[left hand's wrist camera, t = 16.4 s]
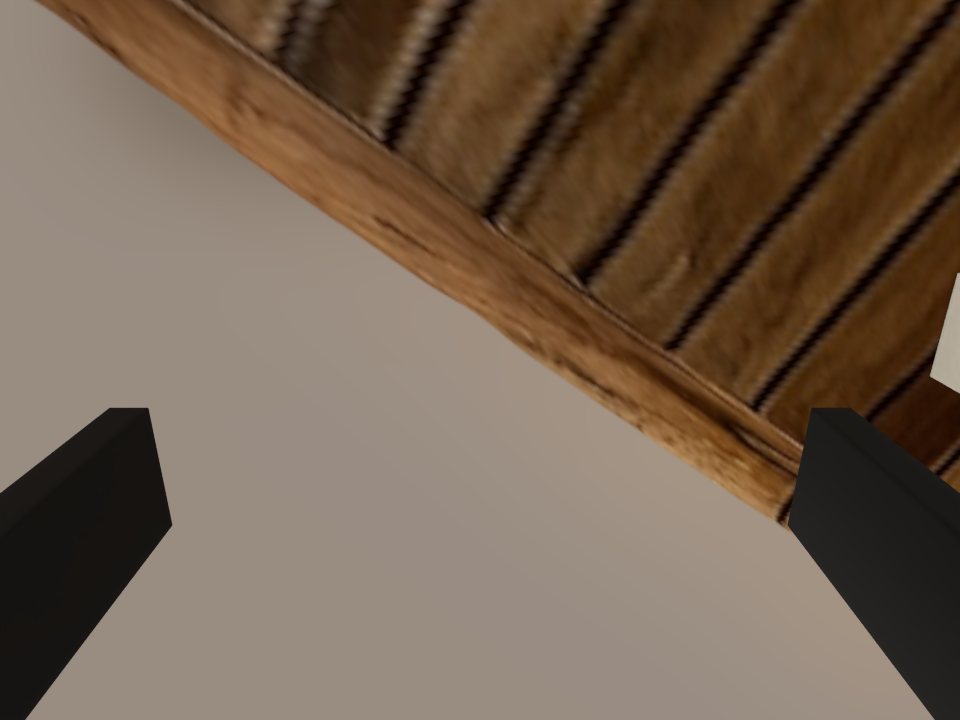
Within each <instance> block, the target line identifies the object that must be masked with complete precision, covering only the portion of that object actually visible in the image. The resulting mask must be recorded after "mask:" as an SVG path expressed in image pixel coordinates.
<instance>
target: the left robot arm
mask: <svg viewBox="0 0 960 720" xmlns="http://www.w3.org/2000/svg"><path fill="white" fill-rule="evenodd" d="M171 526H172V521H171V516H170V511H169V506H168V502H167V497H166V492H165V487H164V482H163V477H162V472H161V468H160V462H159V458H158V453H157V448H156V443H155V438H154V433H153V428H152V423H151V419H150V414H149V409H148V408H109V409H108V410H106V411H105V412H104V413H103V414H101V415H100V416H99V417H97V418H96V419H95V420H93V421H92V422H91V423H90V424H88V425H87V426H86V427H85V428H83V429H82V430H81V431H79V432H78V433H77V434H76V435H74V436H73V437H72V438H70V439H69V440H68V441H67V442H65V443H64V444H63V445H61V446H60V447H59V448H58V449H56V450H55V451H54V452H52V453H51V454H50V455H49V456H47V457H46V458H45V459H44V460H42V461H41V462H40V463H38V464H37V465H36V466H35V467H33V468H32V469H31V470H29V471H28V472H27V473H26V474H24V475H23V476H22V477H20V478H19V479H18V480H17V481H15V482H14V483H13V484H12V485H10V486H9V487H8V488H6V489H5V490H4V491H3V492H1V493H0V720H25V719H26V718H27V717H28V715H29V714H30V713H31V711H32V710H33V709H34V707H35V706H36V705H37V703H38V702H39V701H40V700H41V698H42V697H43V695H44V694H45V693H46V692H47V690H48V689H49V688H50V686H51V685H52V684H53V682H54V681H55V680H56V678H57V677H58V676H59V674H60V673H61V672H62V670H63V669H64V668H65V666H66V665H67V664H68V662H69V661H70V660H71V659H72V657H73V656H74V655H75V653H76V652H77V651H78V649H79V648H80V647H81V645H82V644H83V643H84V641H85V640H86V639H87V637H88V636H89V635H90V633H91V632H92V631H93V629H94V628H95V627H96V625H97V624H98V623H99V622H100V620H101V619H102V618H103V616H104V615H105V614H106V612H107V611H108V610H109V608H110V607H111V606H112V604H113V603H114V602H115V600H116V599H117V598H118V596H119V595H120V594H121V592H122V591H123V590H124V588H125V587H126V586H127V585H128V583H129V582H130V580H131V579H132V578H133V577H134V575H135V574H136V573H137V571H138V570H139V569H140V567H141V566H142V565H143V563H144V562H145V561H146V559H147V558H148V557H149V555H150V554H151V553H152V551H153V550H154V549H155V547H156V546H157V545H158V544H159V542H160V541H161V539H162V538H163V537H164V536H165V534H166V533H167V532H168V530H169V529H170V528H171ZM788 526H789V528H790V529H791V530H792V532H793V533H794V534H795V536H796V537H797V538H798V540H799V541H800V542H801V544H802V545H803V546H804V547H805V549H806V550H807V551H808V553H809V554H810V555H811V557H812V558H813V559H814V561H815V562H816V563H817V565H818V566H819V567H820V569H821V570H822V571H823V573H824V574H825V575H826V577H827V578H828V579H829V581H830V582H831V583H832V584H833V586H834V587H835V588H836V590H837V591H838V592H839V594H840V595H841V596H842V598H843V599H844V600H845V602H846V603H847V604H848V606H849V607H850V608H851V610H852V611H853V612H854V614H855V615H856V616H857V618H858V619H859V620H860V622H861V623H862V624H863V625H864V627H865V628H866V629H867V631H868V632H869V633H870V635H871V636H872V637H873V639H874V640H875V641H876V643H877V644H878V645H879V647H880V648H881V649H882V651H883V652H884V653H885V655H886V656H887V657H888V659H889V660H890V661H891V662H892V664H893V665H894V666H895V668H896V669H897V670H898V672H899V673H900V674H901V676H902V677H903V678H904V680H905V681H906V682H907V684H908V685H909V686H910V688H911V689H912V690H913V692H914V693H915V694H916V696H917V697H918V698H919V699H920V701H921V702H922V703H923V705H924V706H925V707H926V709H927V710H928V711H929V713H930V714H931V715H932V717H933V718H934V719H935V720H960V493H959V492H957V491H956V490H955V489H954V488H952V487H951V486H950V485H948V484H947V483H946V482H945V481H943V480H942V479H941V478H940V477H938V476H937V475H936V474H934V473H933V472H932V471H931V470H929V469H928V468H927V467H925V466H924V465H923V464H922V463H920V462H919V461H918V460H916V459H915V458H914V457H913V456H911V455H910V454H909V453H908V452H906V451H905V450H904V449H902V448H901V447H900V446H899V445H897V444H896V443H895V442H893V441H892V440H891V439H890V438H888V437H887V436H886V435H884V434H883V433H882V432H881V431H879V430H878V429H877V428H876V427H874V426H873V425H872V424H870V423H869V422H868V421H867V420H865V419H864V418H863V417H861V416H860V415H859V414H858V413H856V412H855V411H854V410H852V409H851V408H812V409H811V414H810V419H809V423H808V428H807V433H806V438H805V443H804V448H803V453H802V458H801V462H800V467H799V472H798V477H797V482H796V487H795V492H794V497H793V501H792V506H791V511H790V516H789V521H788Z"/></svg>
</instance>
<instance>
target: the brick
mask: <svg viewBox="0 0 960 720" xmlns="http://www.w3.org/2000/svg"><path fill="white" fill-rule="evenodd" d="M930 377H932V378H934V379H936V380H937V381H939V382H941V383H943V384H944V385H946V386H948V387H950V388H951V389H953V390H955V391H957V392H958V393H960V273H958V274H957V278H956V281H955V285H954V289H953V292H952V296H951V300H950V304H949V307H948V311H947V315H946V318H945V322H944V326H943V330H942V333H941V337H940V341H939V344H938V348H937V352H936V356H935V359H934V363H933V367H932V370H931V374H930Z"/></svg>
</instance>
